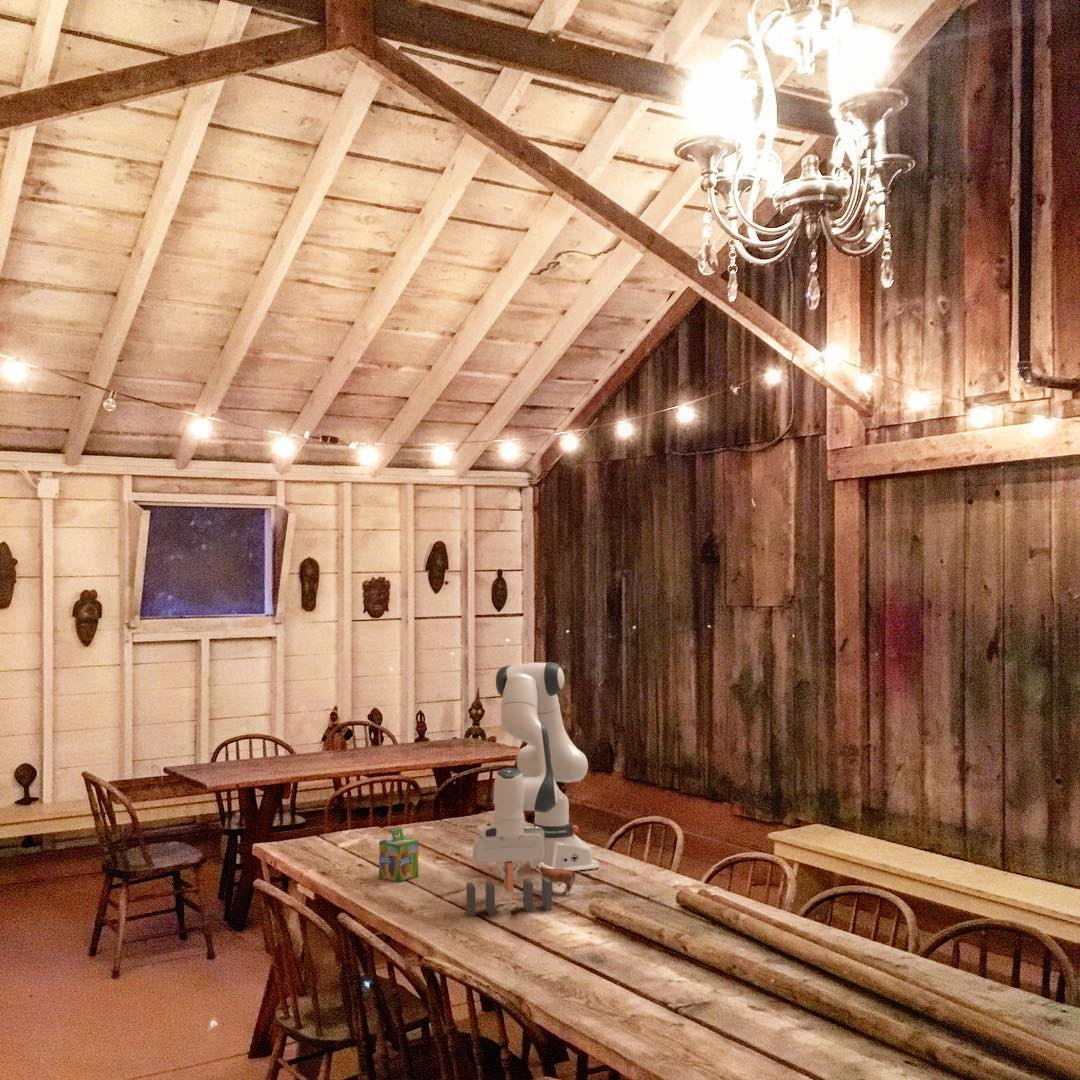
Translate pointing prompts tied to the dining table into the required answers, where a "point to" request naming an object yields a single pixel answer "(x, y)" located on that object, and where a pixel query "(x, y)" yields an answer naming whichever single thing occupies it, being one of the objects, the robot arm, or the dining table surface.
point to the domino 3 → (508, 876)
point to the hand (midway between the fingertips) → (508, 877)
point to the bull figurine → (557, 875)
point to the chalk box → (398, 858)
